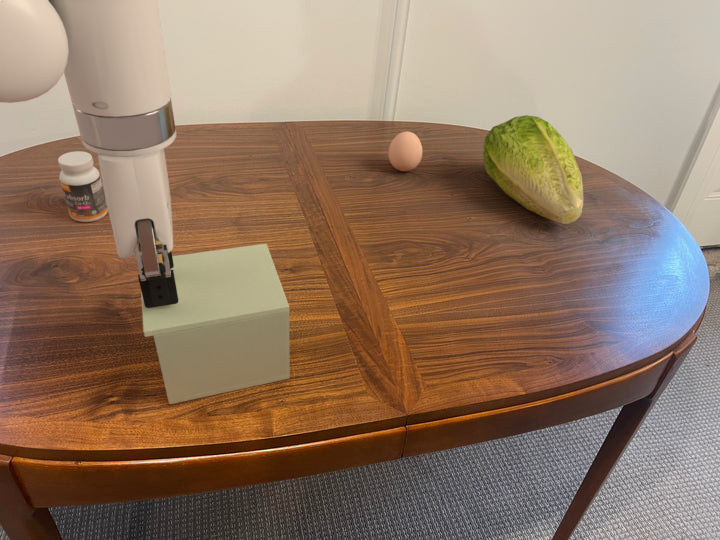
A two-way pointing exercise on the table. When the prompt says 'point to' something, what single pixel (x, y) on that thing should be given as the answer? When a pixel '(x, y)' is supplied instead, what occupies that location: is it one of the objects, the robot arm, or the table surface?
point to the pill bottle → (82, 187)
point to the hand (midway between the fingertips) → (160, 284)
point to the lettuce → (535, 168)
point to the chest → (224, 357)
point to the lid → (218, 290)
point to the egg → (405, 151)
